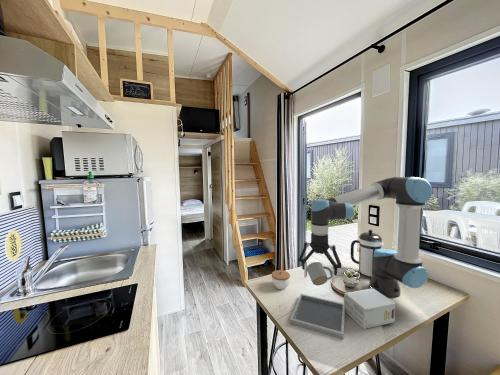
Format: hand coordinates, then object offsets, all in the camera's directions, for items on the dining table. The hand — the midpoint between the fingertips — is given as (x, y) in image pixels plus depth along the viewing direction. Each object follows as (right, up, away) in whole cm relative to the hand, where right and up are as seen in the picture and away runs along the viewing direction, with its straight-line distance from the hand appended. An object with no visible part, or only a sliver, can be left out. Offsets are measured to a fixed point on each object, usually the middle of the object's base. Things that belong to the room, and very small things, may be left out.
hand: (319, 278), depth 100 cm
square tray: (0, -18, +1) cm, 18 cm away
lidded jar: (-14, -16, +27) cm, 35 cm away
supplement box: (+23, -18, 0) cm, 29 cm away
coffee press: (+44, -14, +40) cm, 62 cm away
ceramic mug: (+1, -2, 0) cm, 2 cm away
